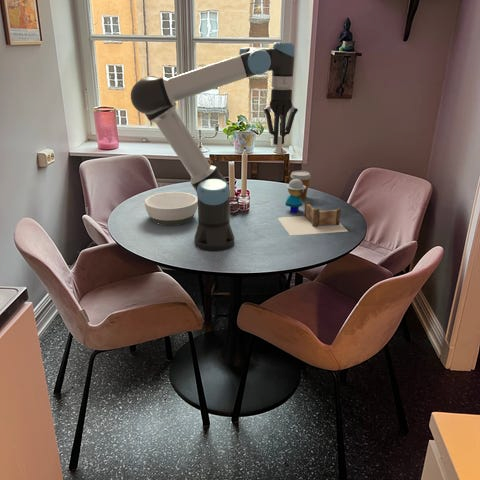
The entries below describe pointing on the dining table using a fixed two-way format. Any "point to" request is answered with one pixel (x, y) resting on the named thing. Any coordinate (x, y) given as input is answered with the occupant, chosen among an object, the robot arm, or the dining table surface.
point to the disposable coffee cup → (304, 178)
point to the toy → (295, 195)
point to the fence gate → (308, 211)
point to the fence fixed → (326, 217)
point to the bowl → (171, 207)
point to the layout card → (307, 226)
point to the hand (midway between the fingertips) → (278, 152)
